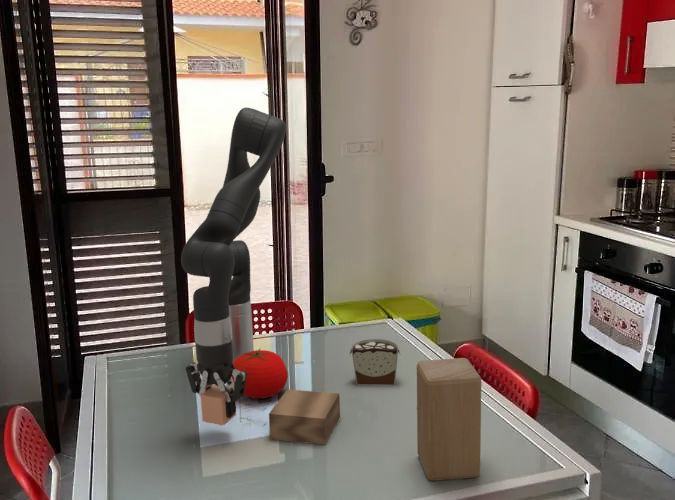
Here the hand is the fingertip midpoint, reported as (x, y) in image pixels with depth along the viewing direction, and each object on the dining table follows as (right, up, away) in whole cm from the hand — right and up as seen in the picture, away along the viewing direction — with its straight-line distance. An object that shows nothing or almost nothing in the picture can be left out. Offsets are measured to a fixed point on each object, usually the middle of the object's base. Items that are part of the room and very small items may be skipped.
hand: (219, 413), depth 138 cm
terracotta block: (0, -1, 0) cm, 1 cm away
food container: (+34, +2, +26) cm, 43 cm away
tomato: (+6, -1, +21) cm, 22 cm away
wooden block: (+46, -7, -14) cm, 48 cm away
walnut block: (+18, -4, +3) cm, 19 cm away
